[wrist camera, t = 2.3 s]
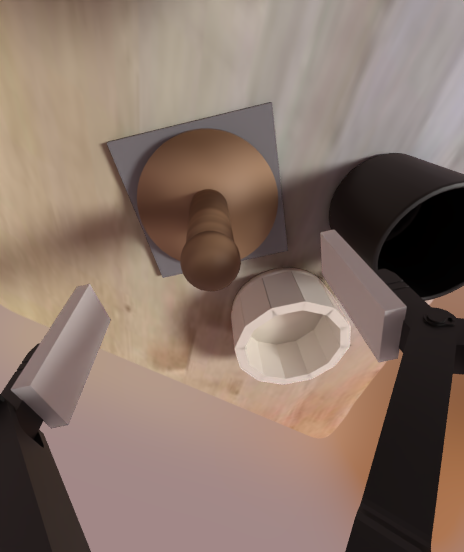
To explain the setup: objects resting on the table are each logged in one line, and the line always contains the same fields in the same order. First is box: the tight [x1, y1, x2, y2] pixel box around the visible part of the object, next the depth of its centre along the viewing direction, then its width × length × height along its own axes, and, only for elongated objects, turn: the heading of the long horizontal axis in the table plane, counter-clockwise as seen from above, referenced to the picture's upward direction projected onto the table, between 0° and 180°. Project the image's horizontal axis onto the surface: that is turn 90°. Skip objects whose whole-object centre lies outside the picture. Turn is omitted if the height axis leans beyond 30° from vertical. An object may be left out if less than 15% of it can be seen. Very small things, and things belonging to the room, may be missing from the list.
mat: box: [107, 102, 288, 278], centre depth 26 cm, size 13×13×1 cm
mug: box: [329, 153, 464, 301], centre depth 24 cm, size 9×12×9 cm
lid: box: [137, 128, 278, 291], centre depth 21 cm, size 12×12×12 cm
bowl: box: [231, 268, 351, 385], centre depth 31 cm, size 12×12×6 cm
